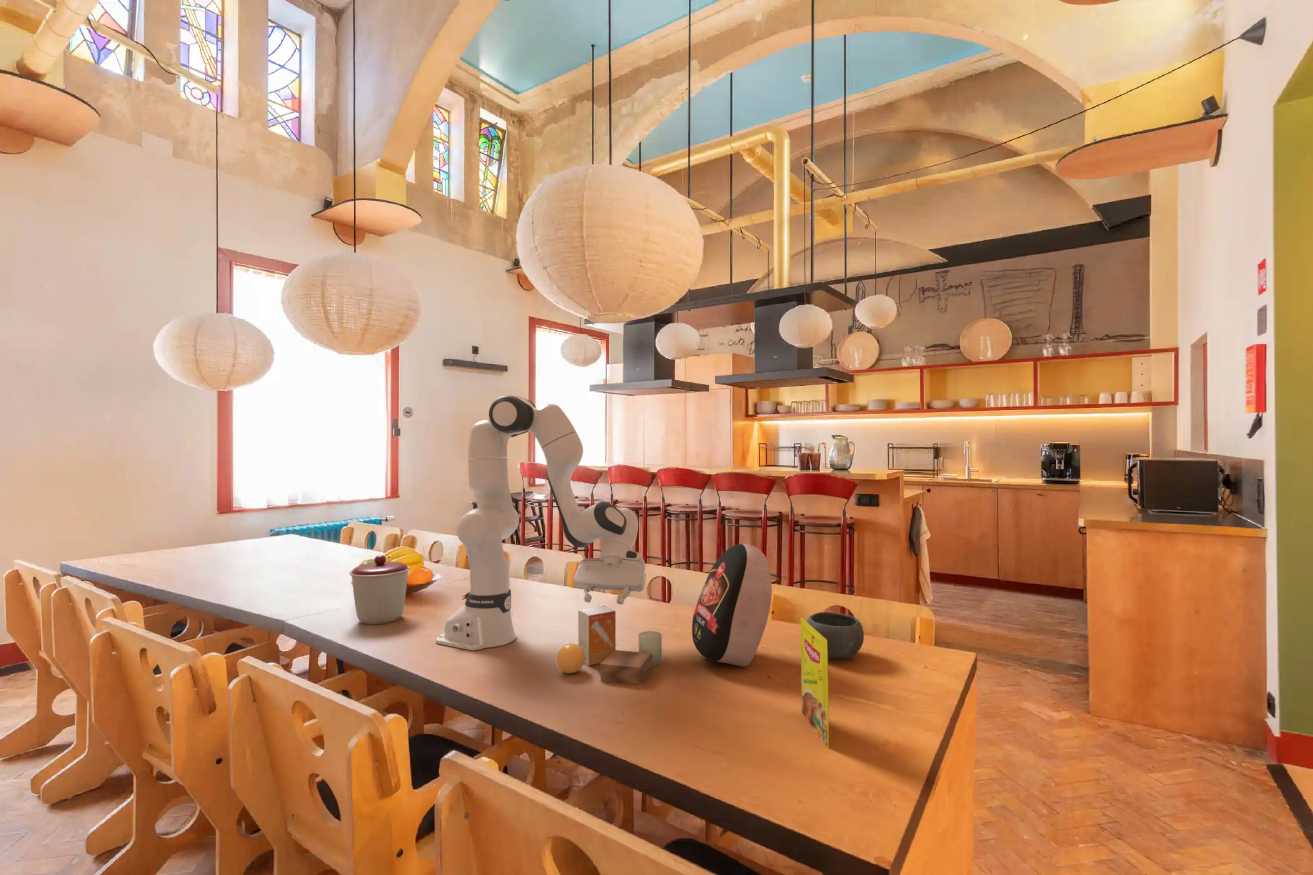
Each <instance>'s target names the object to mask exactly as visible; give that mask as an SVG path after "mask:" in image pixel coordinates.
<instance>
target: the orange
mask: <svg viewBox="0 0 1313 875" xmlns="http://www.w3.org/2000/svg"><path fill="white" fill-rule="evenodd" d="M584 662H585V654H584V651H583V649H582V648H581V647H580V646H579V645H578V644H576V643H572V642H571V643H567V644H564V645H562V646H561V648H560V649H559V650H558V652H557V654H556V665H557V666H558V668H559V669H560V670H561V671H562V672H564V673H565V674H574V673H577V672H579V671H580V670H581V669H582V668H583V667H584V664H585V663H584Z"/></svg>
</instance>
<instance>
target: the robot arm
mask: <svg viewBox="0 0 1313 875" xmlns="http://www.w3.org/2000/svg"><path fill="white" fill-rule="evenodd" d="M488 418H489V419H484V420H479V421H477V422H475V423H474V424H472V426H471V428H470V431H469V437H468V438H469V439H468V448H467V464H468V465H467V467H468V469H467V470H468V471H467V472H468V473H467V474H468V486H469V488H470V489H471V491H472V492H473V495H474V497H475V501H476V506H477V508H473V509H471V510H469V511H467V512H466V513H465V514H464V515H463V516H461V517H460V519H459V520H458V522H457V525H456V535H457V537H458V539H459V541H460V542H461V543H462V544H463V545H464V548H465V551H466V555H467V559H468V565H469V581H470V582H469V585H470V586H469V587H470V588H469V589H470V591H468V592H467V593H465V594H464V595H461V597H462V598H461V600H462V601H464V600H465V603H464V605H462V606H461V607H460V608H459V609H458V610H457V611H455V612H454V613H453V614H452V615H450V616H449V617H448V618H447V620H446V622H445V626H444V632H443V633H442V634H439V636H437V637H436V639H435V640H436V641H435V644H438V645H443V646H449V647H454V648H458V649H463V650H464V649H465V650H467V651H468V650H469V651H477V650H481V649H485V648H494V647H495V648H496V647H499V646H500V647H501V646H504V645H507V644H509V643H511V642H513V641H515V639H516V638H517V636H516V633H515V629H514V625H513V620H512V619H513V618H512V613H511V612H512V611H511V608H512V590H511V588H510V585H511V583H510V582H511V581H510V562H509V561H508V559H507V558H506V556H505V552H504V548H503V540H506V539H507V538H510V537H511V535H513V533H515V531H516V530H517V528H518V527H519V522H520V515H519V513H518V512H517V510H516V509H515V507H514V504H513V499H512V496H511V491H510V486H509V473H508V472H509V471H508V467H509V466H508V442H509V439H511V438H514V437H517V436H521V435H523V434H527V433H528V432H529V433H531V434H532V435H533V436H534V437H535V438H536V441H538V444H539V446H540V448H541V449H542V452H543V455H544V458H545V462H546V467H547V468H546V469H547V470H546V478H547V481H548V486H549V487H550V491H551V494H552V496H553V500H554V502H555V506H556V507H557V508H556V509H557V510H558V513H559V516H560V520H561V523H562V529H563V530H562V531H563V534H564V537H565V538H566V540H567V542H568V543H570V544H571V545H572V546H575V547H576V548H580V549H581V548H585V547H587V546H589V545H591V544H593V543H594V542H595V541H597V540H601V541H602V542H603V544H602V548H601V550H600V554H599V558H598V557H596V558H595V557H586V558H584V559H581V560H580V561H579V563H578V567H577V570H576V571H575V574H574V576H573V583H574V585H575V587H576V588H577V589H579V590H580V589H581V590H582V589H583V591H584V597H583V600H584V602H585V603H591V602H592V599H593V596H592V595H591V590H600V591H615V592H616V591H619V592H620V591H621V592H622V593H621V595H617V596H616V597H617V599H616V604H617V605H624V602H625V600H626V599H627V598H628V597H629V596H630V594H631V592H633V593H634V592H635V593H637V592H638V593H640V592H643V591H644V589H645V586H646V580H647V579H646V578H647V575H646V572H645V570H646V563H645V560H644V557H643V555H642V554H641V553H640V552H637V551H635V550H633V547H634V545H635V543H636V540H637V535H638V531H639V530H638V529H639V519H638V516H637V514H636V513H635V511H633V510H632V509H629V508H627V507H616V506H615V505H613V504H612V503H611V502H608V501H605V500H603V501H599V502H597V503H595V504H593V505H590V506H589V507H587V508H585V509H582V510H581V509H580V508H579V505H578V503H577V499H576V497H575V495H574V494H575V493H574V491H573V489H572V486H571V485H572V483H571V482H572V481H571V480H572V476H573V474H574V472H575V470H576V469H577V468H578V466H579V464H580V462H581V461H582V458H583V454H584V447H583V443H582V441H581V438H580V436H579V434H578V433H577V431H576V429H575V427H574V425H573V424H572V422H571V420H570V419H569V417H568V416H567V415H566V413H565V411H564V410H563V409H562V408H561V407H560V406H559V405H557V404H556V403H547V404H543V405H540V406H539V407H537V406H536V405H535V404H534V403H533V402H532V401H531V400H529V399H526V398H525V397H522V396H518V395H503V396H500V397H498V398H496V399H495V400H494V401H493V402H492V403H491V405H490V406H489V410H488Z"/></svg>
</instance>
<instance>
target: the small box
mask: <svg viewBox="0 0 1313 875" xmlns="http://www.w3.org/2000/svg"><path fill="white" fill-rule="evenodd" d="M577 614H578V617H577V620H578V622H577V623H578V625H577V626H578V628H577V629H578V630H577V631H578V634H577V635H578V639H577V640H578V641H577V642H578V644H577V645H579V646H580V647H581V648H582V649H583V651H584V654H585V662H584V664H586V665H588V666H590V667H591V666H593V665H598V664H601V663H602V662H603V661H604V660H605V659H606V658H607V657H608V656H609V655H610V654H611V653H612V652H613V651H614V650H617V649H616V646H617V645H616V643H617V641H616V640H617V638H616V636H617V634H616V631H617V630H616V629H617V628H616V617H617V615H616V610H615V609H612V608H611V607H609V606H606V605H602V606H600V605H599V606H595V607H588V608H585V609H579V610H578V612H577Z"/></svg>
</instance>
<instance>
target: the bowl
mask: <svg viewBox="0 0 1313 875" xmlns="http://www.w3.org/2000/svg"><path fill="white" fill-rule="evenodd" d="M806 622H807V623H808V624H809V625H811V626H812V627H813V628H814V629H815V630H816V631H817V632H818V633H820V634H821V635H822V636H823V637H824V638H825V639H826V640H827V649H828V659H831V660H832V659H833V660H843V659H848V658H851V657H853V656H855V655H856V654H857V653H859V651H860V650H861V648H862V647H863V644H864V640H865V638H864V637H865V634H864V628H863V626H862V623H861V622H860V620H859V619H858V618H857V617H854V616H853V615H850V614H845V613H839V612H831V611H821V612H816V613H813V614H811V615H809V616H808V618H807V620H806Z"/></svg>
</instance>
